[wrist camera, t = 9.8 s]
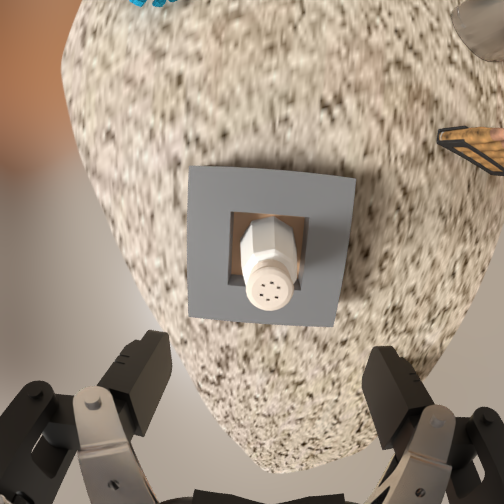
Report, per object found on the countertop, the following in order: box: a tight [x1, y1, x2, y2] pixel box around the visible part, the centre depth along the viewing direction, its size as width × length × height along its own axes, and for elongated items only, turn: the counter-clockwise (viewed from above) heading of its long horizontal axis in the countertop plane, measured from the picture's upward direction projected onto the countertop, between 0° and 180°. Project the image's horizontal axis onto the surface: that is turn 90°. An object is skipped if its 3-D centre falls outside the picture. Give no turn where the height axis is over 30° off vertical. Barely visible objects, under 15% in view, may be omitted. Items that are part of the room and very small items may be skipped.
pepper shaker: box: [240, 216, 297, 311], centre depth 21 cm, size 5×5×11 cm
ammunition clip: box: [437, 126, 504, 176], centre depth 19 cm, size 11×2×12 cm, turn 78°
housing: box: [187, 166, 356, 327], centre depth 26 cm, size 14×14×5 cm
